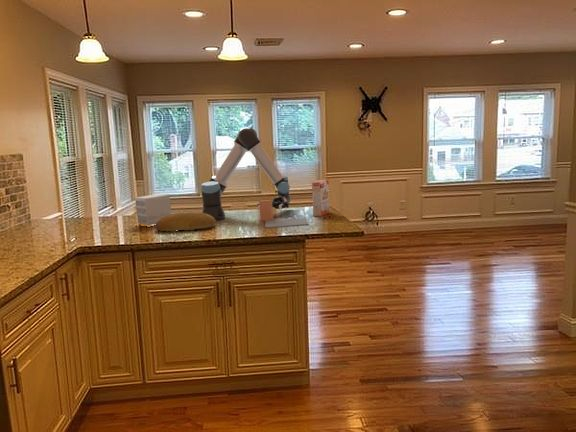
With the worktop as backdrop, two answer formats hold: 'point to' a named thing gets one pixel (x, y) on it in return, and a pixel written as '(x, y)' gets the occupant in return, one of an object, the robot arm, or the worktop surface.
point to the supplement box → (152, 208)
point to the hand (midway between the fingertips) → (268, 207)
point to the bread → (185, 221)
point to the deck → (266, 210)
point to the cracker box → (320, 197)
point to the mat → (286, 223)
